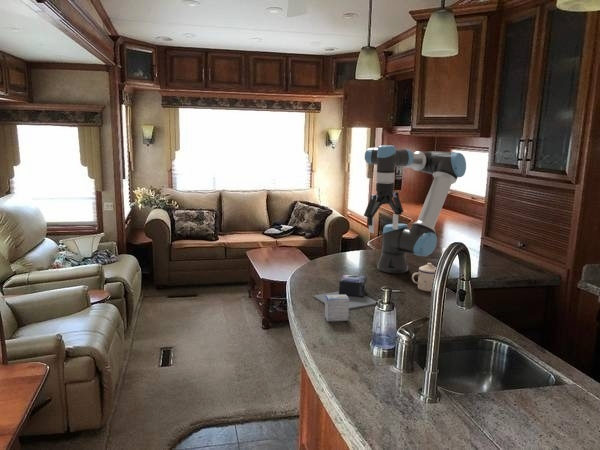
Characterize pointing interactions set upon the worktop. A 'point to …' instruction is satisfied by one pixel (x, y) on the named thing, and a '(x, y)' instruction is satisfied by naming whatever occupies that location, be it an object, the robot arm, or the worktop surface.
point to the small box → (352, 285)
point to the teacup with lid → (425, 277)
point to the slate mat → (350, 300)
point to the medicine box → (336, 307)
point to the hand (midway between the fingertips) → (383, 230)
